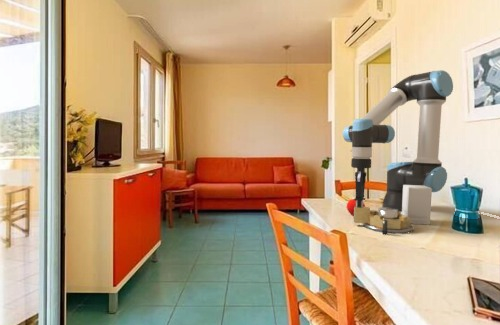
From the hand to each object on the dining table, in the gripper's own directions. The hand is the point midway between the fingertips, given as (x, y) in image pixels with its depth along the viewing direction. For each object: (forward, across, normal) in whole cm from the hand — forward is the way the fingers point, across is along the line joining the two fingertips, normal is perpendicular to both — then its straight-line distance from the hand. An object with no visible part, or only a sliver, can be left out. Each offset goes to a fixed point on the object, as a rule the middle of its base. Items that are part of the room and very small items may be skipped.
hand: (359, 216), depth 133 cm
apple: (+3, -15, -3) cm, 16 cm away
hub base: (+3, +1, +10) cm, 11 cm away
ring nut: (+2, +1, +8) cm, 9 cm away
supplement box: (+3, -14, +21) cm, 25 cm away
